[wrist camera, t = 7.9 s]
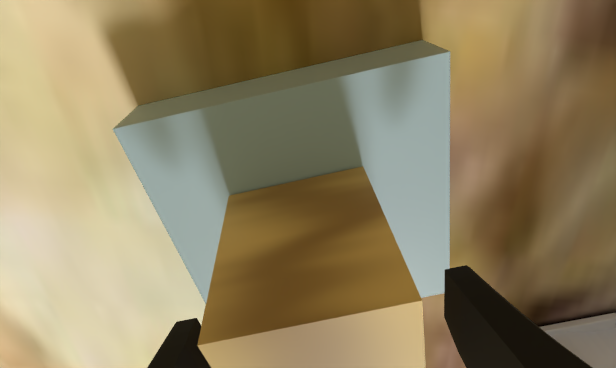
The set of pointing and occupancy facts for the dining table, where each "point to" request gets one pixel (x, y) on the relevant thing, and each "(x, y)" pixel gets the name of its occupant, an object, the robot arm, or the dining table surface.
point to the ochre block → (311, 281)
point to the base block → (305, 149)
